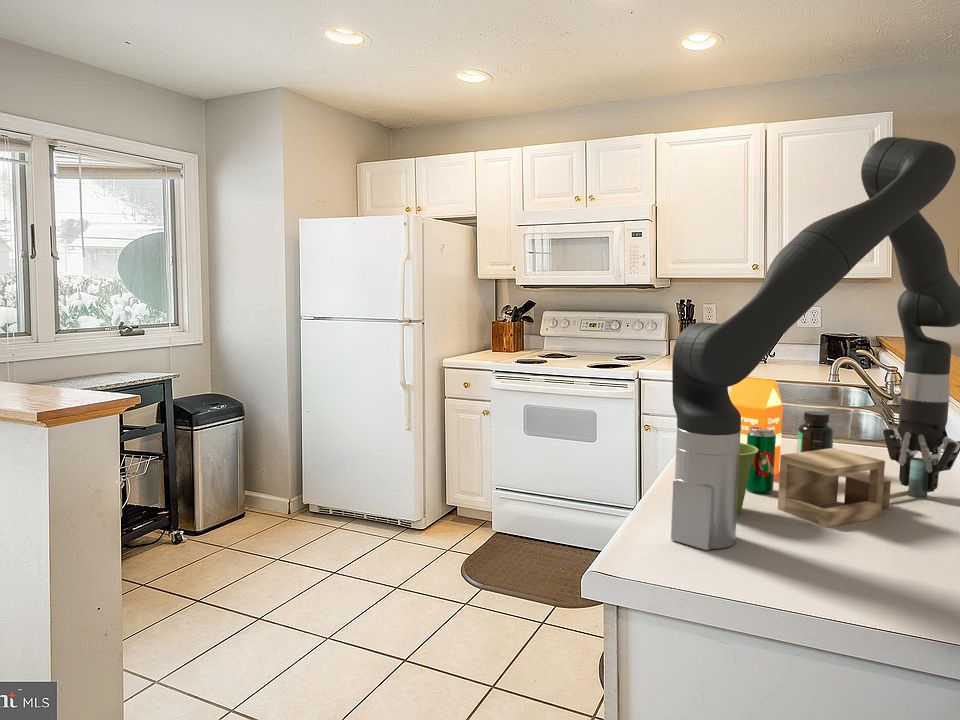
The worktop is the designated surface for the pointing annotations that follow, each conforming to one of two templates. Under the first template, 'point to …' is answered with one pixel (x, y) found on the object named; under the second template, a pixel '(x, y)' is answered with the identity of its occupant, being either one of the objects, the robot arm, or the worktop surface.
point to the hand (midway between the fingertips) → (917, 487)
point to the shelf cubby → (827, 486)
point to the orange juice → (759, 408)
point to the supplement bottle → (815, 432)
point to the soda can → (762, 460)
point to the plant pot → (744, 471)
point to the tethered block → (886, 485)
